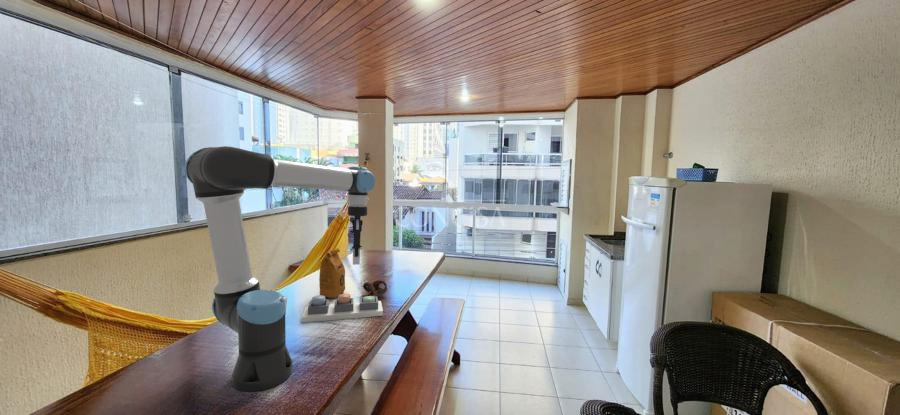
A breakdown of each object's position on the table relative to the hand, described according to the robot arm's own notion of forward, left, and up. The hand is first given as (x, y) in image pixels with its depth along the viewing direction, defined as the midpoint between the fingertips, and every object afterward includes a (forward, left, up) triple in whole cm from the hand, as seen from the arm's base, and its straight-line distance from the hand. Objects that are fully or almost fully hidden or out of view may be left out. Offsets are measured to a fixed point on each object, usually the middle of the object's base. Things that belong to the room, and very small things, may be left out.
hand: (356, 264), depth 137 cm
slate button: (-9, +13, -18) cm, 24 cm away
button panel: (-1, +7, -22) cm, 23 cm away
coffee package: (+8, +30, -22) cm, 38 cm away
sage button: (+7, +1, -19) cm, 21 cm away
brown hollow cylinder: (+22, +16, -22) cm, 35 cm away
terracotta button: (-1, +7, -18) cm, 19 cm away
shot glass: (-20, +25, -22) cm, 39 cm away
